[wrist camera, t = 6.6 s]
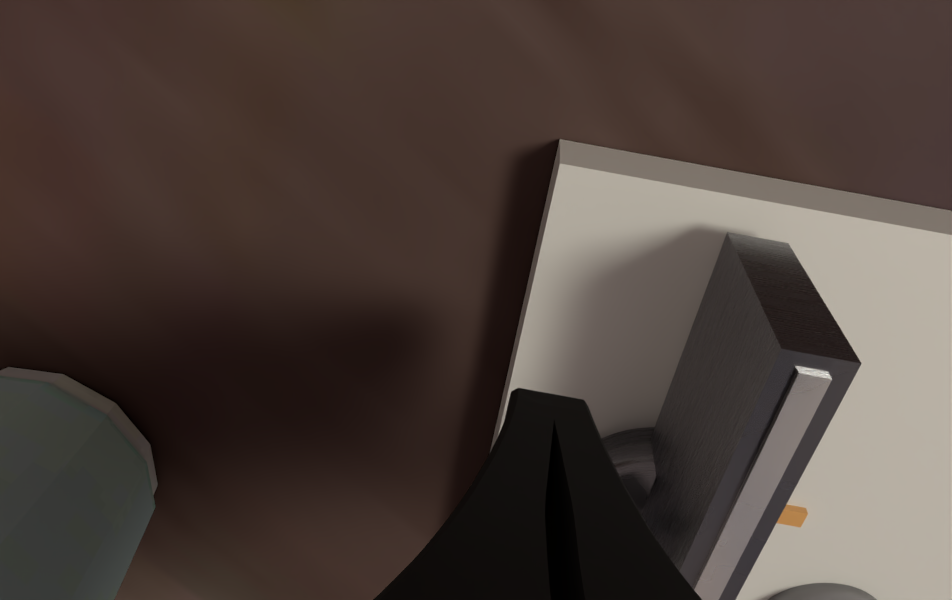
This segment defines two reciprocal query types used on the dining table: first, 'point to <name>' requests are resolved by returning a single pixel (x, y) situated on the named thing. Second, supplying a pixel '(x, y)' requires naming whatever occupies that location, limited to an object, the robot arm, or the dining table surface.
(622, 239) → the base
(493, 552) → the robot arm
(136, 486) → the disposable coffee cup
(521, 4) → the dining table surface
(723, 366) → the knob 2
